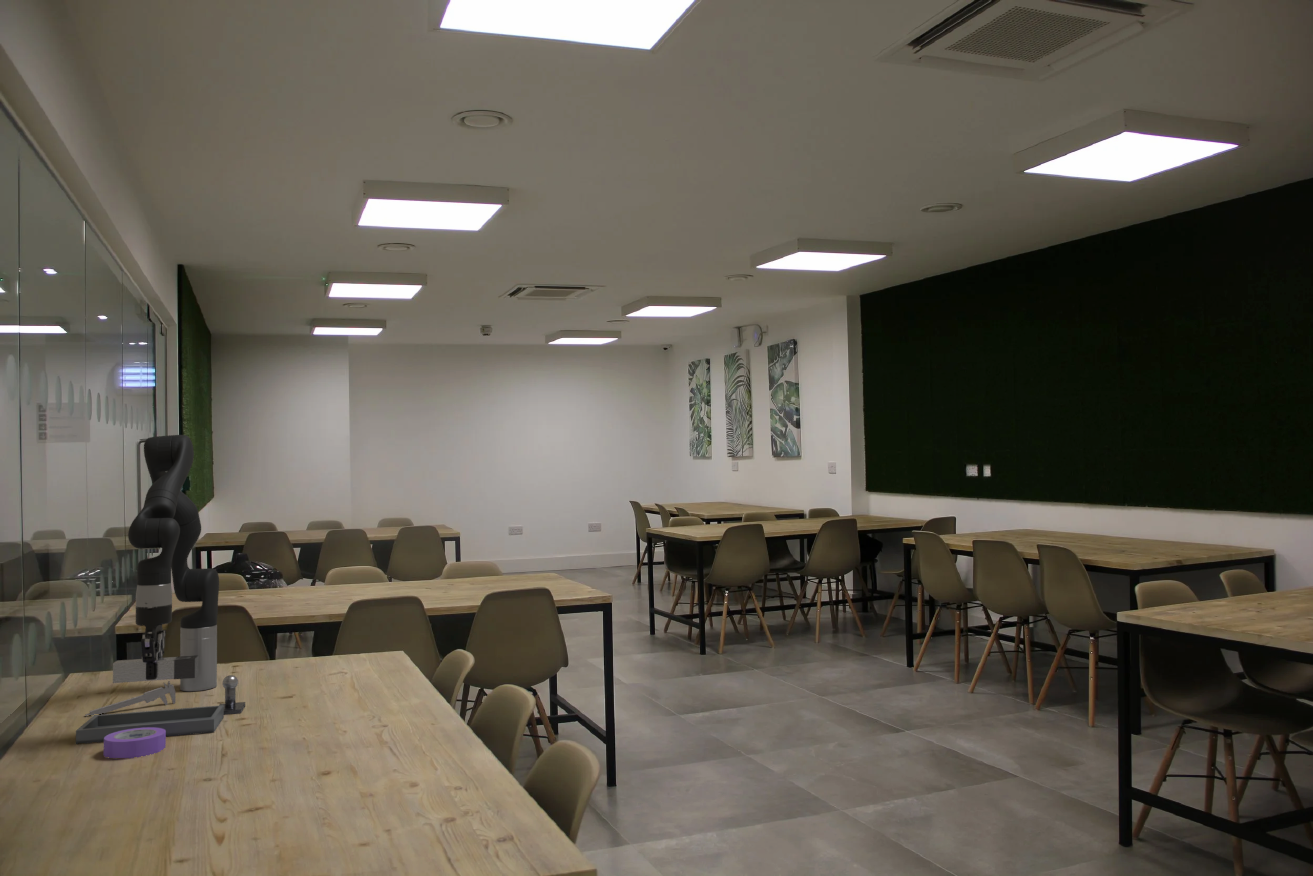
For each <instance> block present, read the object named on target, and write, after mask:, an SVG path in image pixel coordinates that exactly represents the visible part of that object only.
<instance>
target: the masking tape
mask: <svg viewBox="0 0 1313 876" xmlns="http://www.w3.org/2000/svg"><path fill="white" fill-rule="evenodd" d="M166 739H167V737H166V730H165V729H162V728H154V727H146V728H134V729H127V730H122V731H118V732H114V733H111V734H109V735H107V736H105V737H104V742H103V757H104V756H105V757H104V758H106V757H109V758H129V759H135V758H134V757H137V758H142V757H141V756H143V757H147V756H150V754H151V755H155V754H158V753H159V752H161V750H162V751H163V749H164V748H165V749H166ZM165 749H164V750H165ZM154 753H155V754H154ZM146 755H147V756H146ZM109 758H108V759H109Z"/></svg>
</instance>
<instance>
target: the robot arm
mask: <svg viewBox="0 0 1313 876" xmlns="http://www.w3.org/2000/svg"><path fill="white" fill-rule="evenodd" d="M194 454H195V453H194V446H193V442H192V440H191V438H190V436H188V435H186V434H173V435H158V436H151V437H148V438H146V439H145V440H144V444H143V456H144V460H145V464H146V468H147V471H148V473H149V477H150V480H151V485H150V486H149V488H148V490H147V492H146V494H145V499H144V503H143V507H142V508H141V510H140V511H139V513H137V515H136V516H135V517H134V519H133V520H132V522H131V524H130V527H129V528H128V532H127V533H128V534H127V536H128V537H127V538H128V541H129V542H128V543H130V545H131V546H132V547H134V548H136V549H161V552H160V553H159V554H158V555H157V556H153V557H149V558H145V559H142V560H140V561H138V563H137V569H136V572H137V574H136V577H137V578H136V591H135V624H136V626H139V627H145V628H144V629H145V630H144V633H142V638H141V640H140V645H141V655H142V657H141V659H142V660H143V662H145V664H146V679H147V680H153V681H155V680H154V679H156V678H157V661H158V658H164V657H163V655H164V654H165V646H166V634H167V631H166V629H163V625H168V624H170V623H172V621H173V592H174V594H175V597H176V600H178V601H179V602H181V603H197V602H198V603H200V602H201V606H200V608H199V609H198V610H196V611H194V612H192V613H189V614H186V615H184V616H181V618H180V624H179V625H180V630H179V631H180V634H179V635H180V637H179V638H180V641H179V642H180V643H179V644H180V647H179V648H180V650H179V652H180V655H179V656H195V655H198V675H197V676H196V677H195V678H188V679H179V687H180V691H182V692H199V691H200V692H201V691H205V690H210V689H211V690H212V689H214V688H216V687H217V686H218V683H217V679H218V674H217V673H218V615H219V614H218V613H219V593H220V576H219V573H218V571H217V570H216V569H215V568H190V567H189V565H188V558H189V556H190V553H191V551H192V550H193V549H194V547H195V545H196V544H197V541H198V539H199V538H200V535H201V532H202V523H201V520H200V519H201V518H200V513H199V510H198V506H197V505H196V504H195V503H194V502H193V500H192V499H191V498H189V497H188V495H187V494H185V493H184V492H183V491H182V488H183V485H184V484H185V482H186V480H187V478H188V475H189V474H190V470H191V468H192V466H193V462H194V457H195V455H194ZM172 585H173V589H172ZM173 590H174V591H173Z"/></svg>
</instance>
